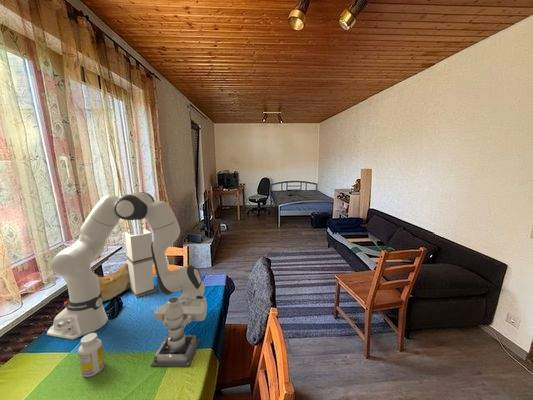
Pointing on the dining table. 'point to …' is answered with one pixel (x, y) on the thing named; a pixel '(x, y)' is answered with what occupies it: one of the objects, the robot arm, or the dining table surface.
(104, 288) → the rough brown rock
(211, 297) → the dining table surface
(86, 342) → the supplement bottle
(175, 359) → the grey square tray
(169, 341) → the silver bottle
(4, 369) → the dining table surface
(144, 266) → the beige notched post
